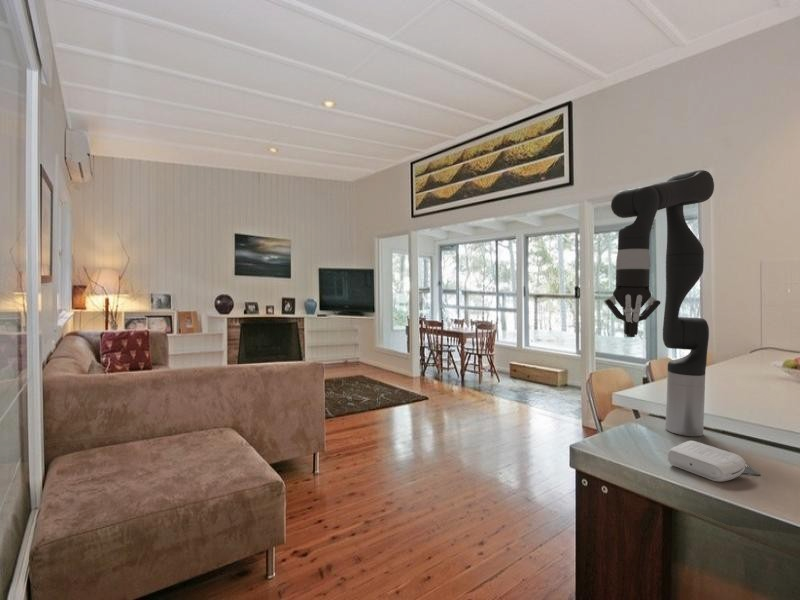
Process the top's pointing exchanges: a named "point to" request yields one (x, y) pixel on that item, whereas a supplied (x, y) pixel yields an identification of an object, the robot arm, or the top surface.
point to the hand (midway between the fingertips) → (630, 336)
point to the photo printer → (706, 461)
